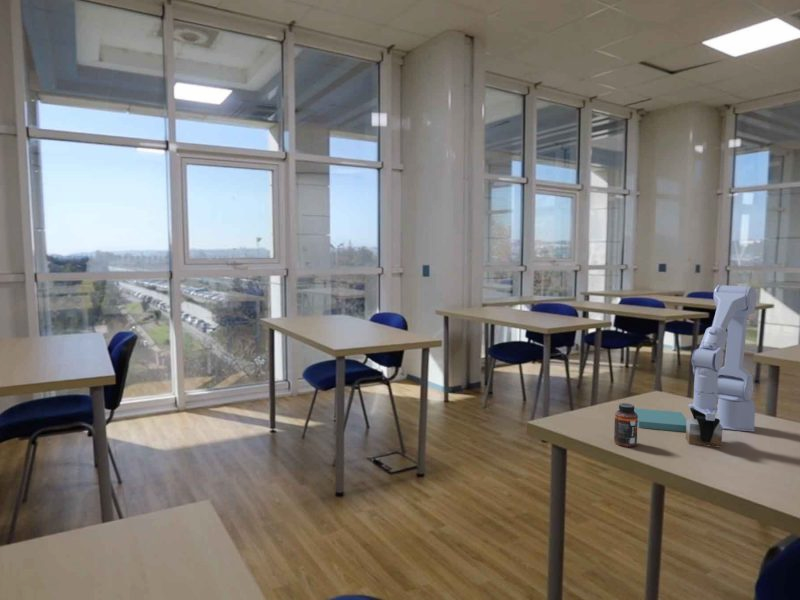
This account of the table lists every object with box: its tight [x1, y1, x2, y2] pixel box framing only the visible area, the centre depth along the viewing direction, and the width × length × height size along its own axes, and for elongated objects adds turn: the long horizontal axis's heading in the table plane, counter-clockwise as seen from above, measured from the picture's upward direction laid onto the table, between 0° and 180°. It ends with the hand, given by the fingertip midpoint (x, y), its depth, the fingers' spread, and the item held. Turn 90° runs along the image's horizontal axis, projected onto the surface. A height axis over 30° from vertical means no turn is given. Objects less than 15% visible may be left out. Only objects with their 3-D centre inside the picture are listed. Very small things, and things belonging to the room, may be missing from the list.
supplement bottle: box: [613, 402, 638, 448], centre depth 147 cm, size 6×6×11 cm
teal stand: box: [634, 407, 687, 433], centre depth 165 cm, size 14×14×2 cm
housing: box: [685, 418, 723, 448], centre depth 148 cm, size 8×5×6 cm, turn 71°
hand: (703, 437), depth 148 cm, fingers open, 6 cm apart
